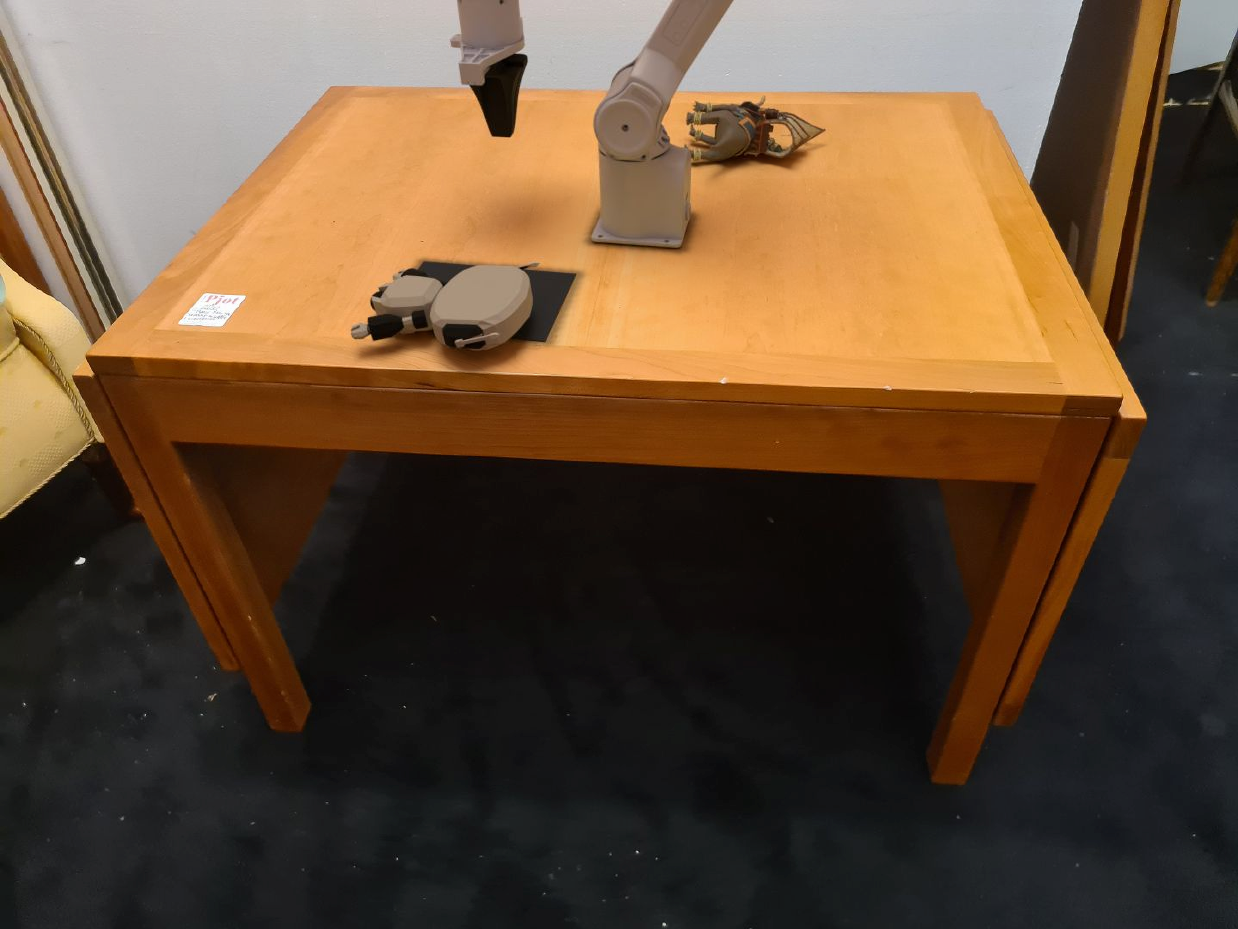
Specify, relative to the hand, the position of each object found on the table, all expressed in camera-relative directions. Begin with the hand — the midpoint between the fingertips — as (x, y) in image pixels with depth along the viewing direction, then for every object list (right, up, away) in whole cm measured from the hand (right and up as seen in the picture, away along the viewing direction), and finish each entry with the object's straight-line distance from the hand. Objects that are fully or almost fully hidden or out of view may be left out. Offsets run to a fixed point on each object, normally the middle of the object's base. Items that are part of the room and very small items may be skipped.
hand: (502, 134), depth 89 cm
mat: (-1, -18, -6) cm, 19 cm away
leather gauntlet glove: (+29, +5, +19) cm, 35 cm away
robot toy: (-3, -22, -10) cm, 24 cm away
